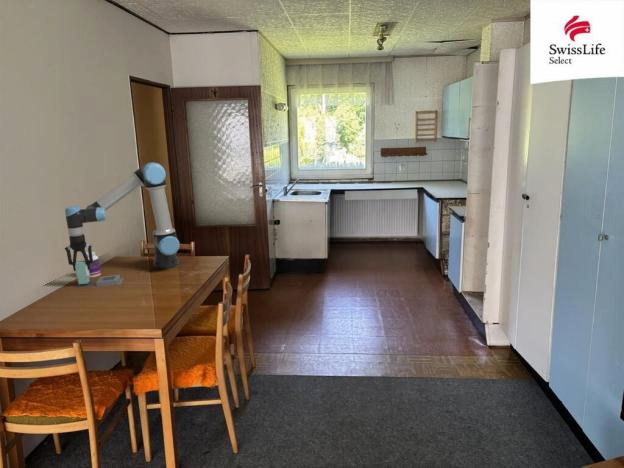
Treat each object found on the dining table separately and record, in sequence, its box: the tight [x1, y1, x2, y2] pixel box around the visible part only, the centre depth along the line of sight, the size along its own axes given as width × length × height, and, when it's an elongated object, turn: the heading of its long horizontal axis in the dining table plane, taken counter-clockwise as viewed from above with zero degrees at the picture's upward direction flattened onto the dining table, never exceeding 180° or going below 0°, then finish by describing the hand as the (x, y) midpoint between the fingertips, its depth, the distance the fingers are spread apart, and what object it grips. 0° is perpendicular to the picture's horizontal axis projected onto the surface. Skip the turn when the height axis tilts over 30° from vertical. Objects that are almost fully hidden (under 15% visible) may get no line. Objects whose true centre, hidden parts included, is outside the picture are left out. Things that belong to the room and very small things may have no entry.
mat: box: [73, 280, 96, 289], centre depth 261 cm, size 9×9×1 cm
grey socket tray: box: [93, 274, 124, 288], centre depth 262 cm, size 14×11×3 cm
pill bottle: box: [82, 251, 102, 278], centre depth 276 cm, size 8×8×14 cm
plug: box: [75, 260, 90, 284], centre depth 259 cm, size 4×4×12 cm
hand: (83, 275), depth 259 cm, fingers closed on plug, 4 cm apart
